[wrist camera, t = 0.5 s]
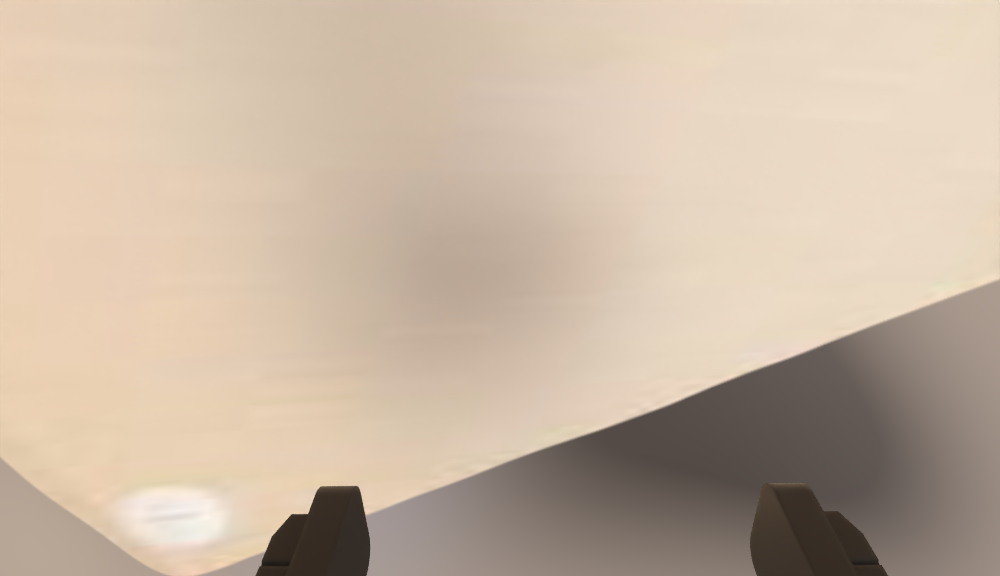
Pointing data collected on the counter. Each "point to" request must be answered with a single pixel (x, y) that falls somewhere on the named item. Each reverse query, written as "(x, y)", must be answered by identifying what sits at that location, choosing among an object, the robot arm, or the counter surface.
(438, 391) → the counter surface
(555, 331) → the counter surface
